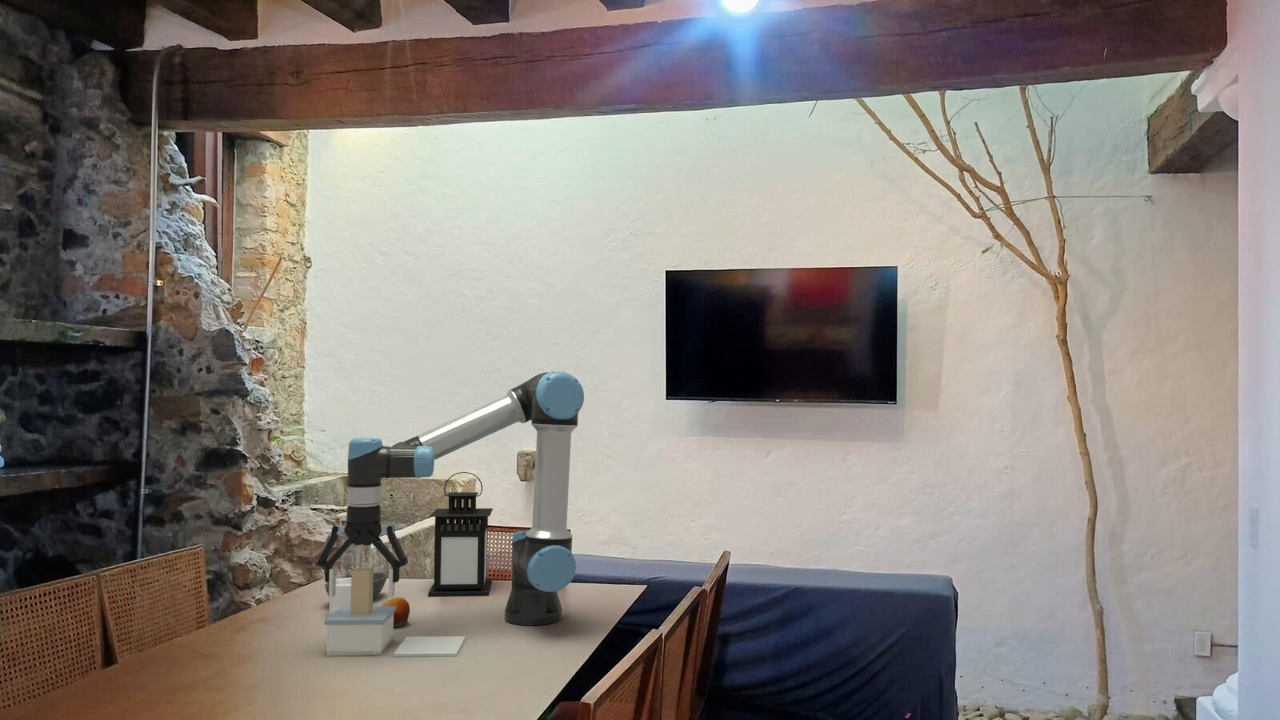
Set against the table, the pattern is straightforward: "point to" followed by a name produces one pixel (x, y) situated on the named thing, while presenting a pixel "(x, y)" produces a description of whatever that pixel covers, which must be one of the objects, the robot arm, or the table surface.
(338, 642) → the white open storage bin
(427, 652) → the mat
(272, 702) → the table surface
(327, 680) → the table surface
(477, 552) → the lantern
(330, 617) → the lid
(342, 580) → the mug
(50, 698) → the table surface
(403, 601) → the fruit
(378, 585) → the bowl
